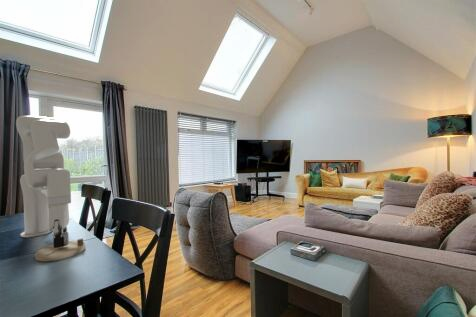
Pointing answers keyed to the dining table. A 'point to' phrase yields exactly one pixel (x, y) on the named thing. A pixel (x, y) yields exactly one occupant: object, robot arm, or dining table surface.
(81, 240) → the turntable
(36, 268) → the dining table surface
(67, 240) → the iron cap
